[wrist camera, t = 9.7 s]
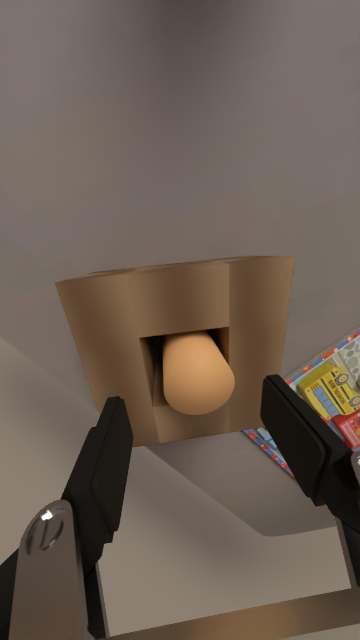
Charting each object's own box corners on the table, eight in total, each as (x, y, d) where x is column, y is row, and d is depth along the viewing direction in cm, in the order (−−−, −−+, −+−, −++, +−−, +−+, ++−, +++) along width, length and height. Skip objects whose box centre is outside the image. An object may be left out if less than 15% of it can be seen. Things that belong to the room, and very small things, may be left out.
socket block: (249, 255, 16) (295, 256, 11) (244, 380, 21) (273, 425, 16) (93, 272, 16) (54, 282, 10) (126, 396, 21) (112, 450, 15)
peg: (203, 310, 18) (235, 351, 10) (205, 349, 19) (234, 409, 12) (159, 316, 18) (159, 362, 10) (165, 355, 19) (168, 419, 12)
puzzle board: (443, 431, 29) (469, 447, 27) (320, 497, 33) (333, 516, 31) (391, 296, 20) (424, 302, 17) (226, 411, 24) (233, 429, 21)
